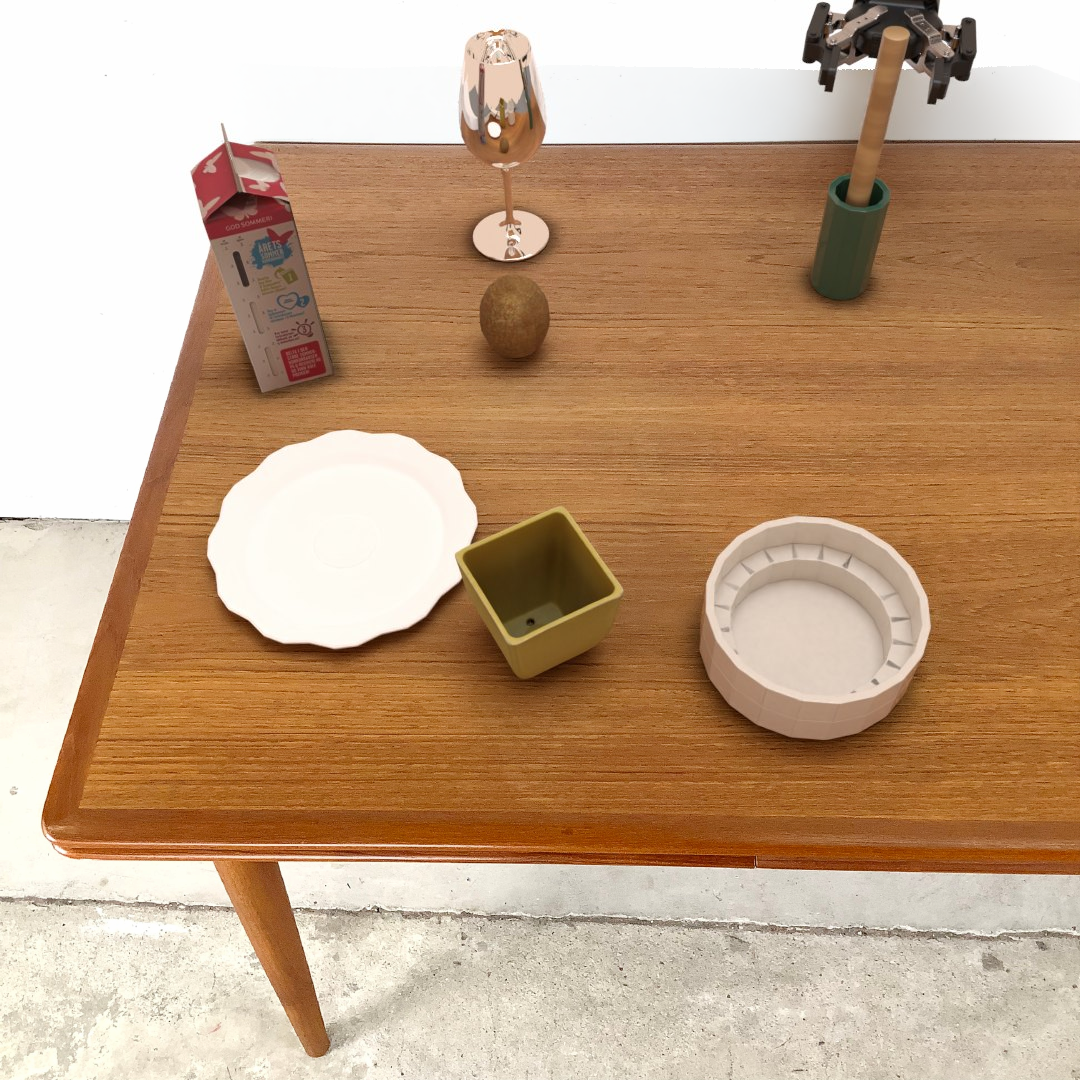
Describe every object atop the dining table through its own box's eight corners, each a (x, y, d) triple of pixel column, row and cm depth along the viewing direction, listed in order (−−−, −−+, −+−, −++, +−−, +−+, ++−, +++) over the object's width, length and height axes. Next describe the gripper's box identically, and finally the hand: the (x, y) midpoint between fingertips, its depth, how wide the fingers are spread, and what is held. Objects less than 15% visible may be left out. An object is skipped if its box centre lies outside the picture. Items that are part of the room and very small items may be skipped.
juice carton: (319, 324, 104) (263, 113, 86) (334, 373, 100) (279, 163, 83) (248, 342, 103) (177, 132, 85) (261, 392, 99) (189, 184, 82)
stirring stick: (830, 266, 106) (884, 22, 86) (851, 269, 105) (911, 24, 86) (827, 284, 104) (881, 40, 85) (848, 287, 104) (908, 43, 84)
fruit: (541, 319, 104) (538, 250, 97) (559, 366, 100) (557, 297, 93) (475, 333, 103) (467, 265, 96) (491, 381, 99) (484, 313, 93)
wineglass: (543, 267, 108) (534, 75, 91) (463, 259, 109) (441, 68, 92) (556, 215, 112) (551, 23, 96) (480, 208, 113) (462, 18, 97)
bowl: (777, 530, 89) (788, 482, 84) (949, 639, 82) (972, 594, 77) (657, 657, 82) (661, 613, 77) (833, 785, 76) (849, 747, 71)
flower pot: (565, 572, 87) (563, 501, 80) (623, 658, 82) (626, 591, 75) (463, 620, 85) (451, 552, 77) (517, 711, 80) (509, 647, 73)
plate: (179, 641, 85) (172, 630, 83) (257, 433, 97) (253, 420, 95) (450, 671, 82) (448, 659, 81) (496, 454, 94) (495, 441, 93)
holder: (830, 255, 107) (850, 165, 99) (877, 278, 105) (901, 189, 97) (799, 283, 105) (816, 194, 97) (846, 308, 103) (868, 219, 95)
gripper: (826, -60, 101) (802, 36, 92) (990, -45, 99) (982, 56, 89) (813, 19, 107) (789, 118, 98) (967, 36, 105) (957, 138, 96)
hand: (881, 88), depth 94 cm, fingers open, 8 cm apart
